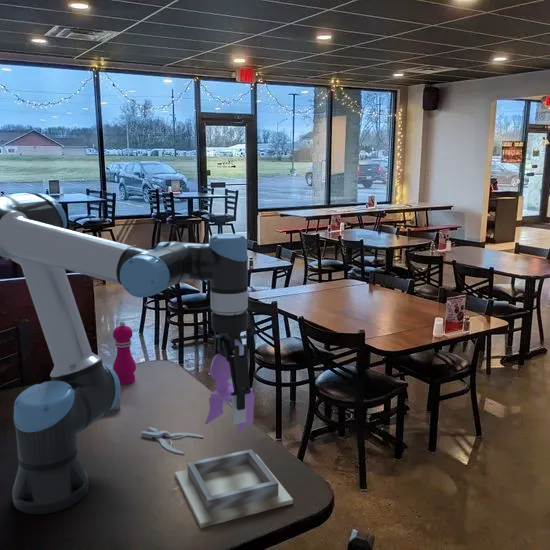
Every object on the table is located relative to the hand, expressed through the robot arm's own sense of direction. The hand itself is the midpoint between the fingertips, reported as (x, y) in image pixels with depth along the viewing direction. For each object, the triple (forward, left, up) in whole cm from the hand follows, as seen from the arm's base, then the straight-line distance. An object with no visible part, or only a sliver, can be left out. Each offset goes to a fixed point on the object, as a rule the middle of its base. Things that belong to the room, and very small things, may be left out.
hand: (230, 412), depth 120 cm
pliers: (-7, +27, -19) cm, 34 cm away
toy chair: (0, 0, -3) cm, 3 cm away
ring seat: (0, 0, -18) cm, 18 cm away
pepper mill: (-11, +71, -18) cm, 74 cm away
